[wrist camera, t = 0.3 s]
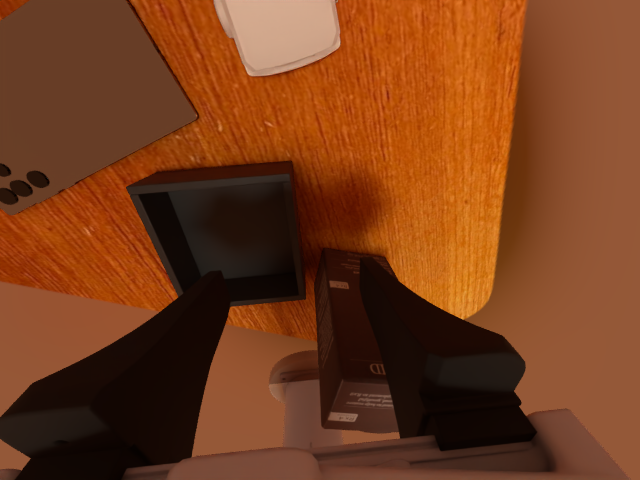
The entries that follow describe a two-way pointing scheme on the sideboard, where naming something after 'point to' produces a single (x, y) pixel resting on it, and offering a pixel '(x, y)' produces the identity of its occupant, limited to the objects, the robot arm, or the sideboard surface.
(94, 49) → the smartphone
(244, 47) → the toy car
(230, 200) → the bin
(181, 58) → the sideboard surface
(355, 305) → the box
